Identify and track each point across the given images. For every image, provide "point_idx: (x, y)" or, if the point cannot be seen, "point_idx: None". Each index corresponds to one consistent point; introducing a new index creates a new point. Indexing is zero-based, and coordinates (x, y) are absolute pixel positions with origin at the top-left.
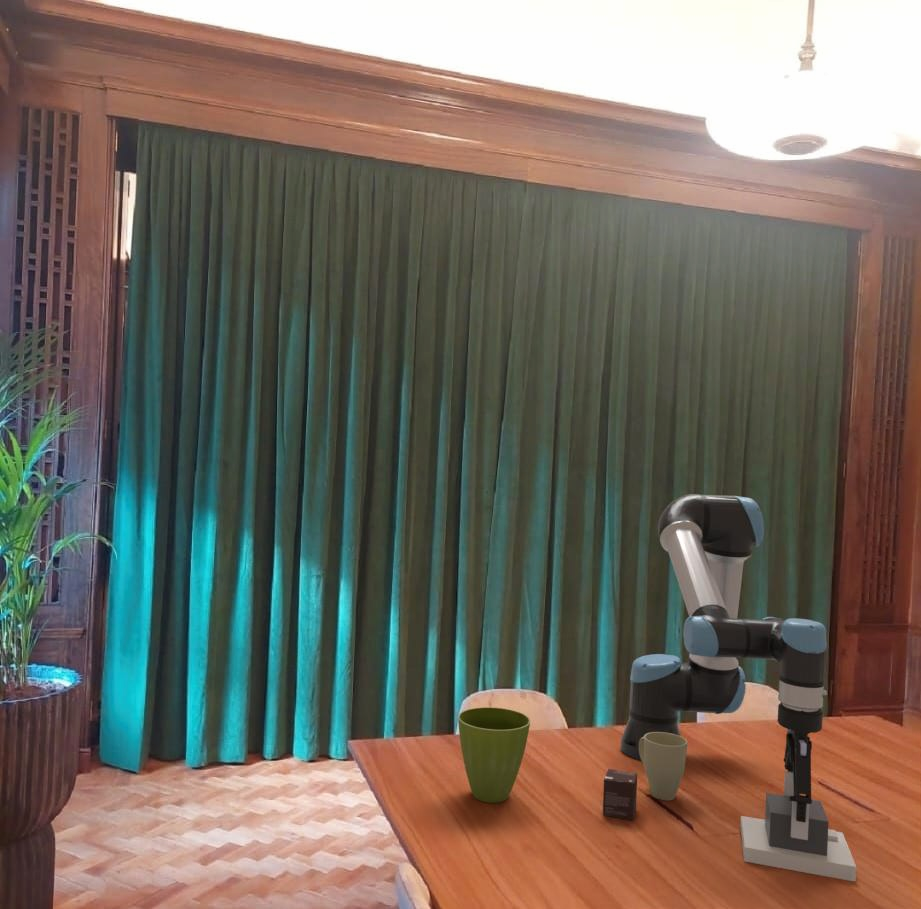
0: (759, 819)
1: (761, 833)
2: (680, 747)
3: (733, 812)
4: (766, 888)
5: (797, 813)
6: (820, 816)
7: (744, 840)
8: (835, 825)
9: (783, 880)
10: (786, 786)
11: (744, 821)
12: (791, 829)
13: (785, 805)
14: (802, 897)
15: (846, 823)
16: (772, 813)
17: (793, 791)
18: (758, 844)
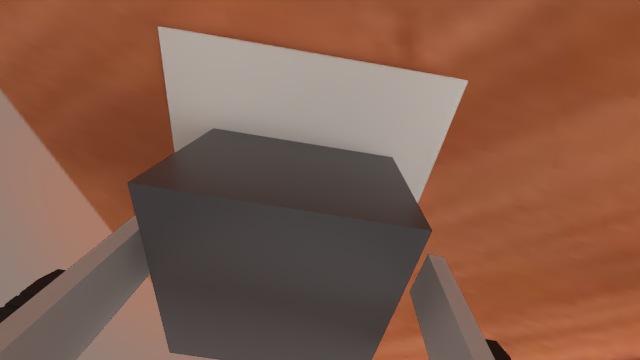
0: (433, 148)
1: (311, 126)
2: None
3: (594, 80)
4: (47, 66)
5: (8, 303)
6: (206, 345)
7: (222, 40)
8: (471, 311)
9: (128, 128)
10: (459, 341)
11: (411, 83)
12: (124, 225)
13: (268, 271)
14: (65, 151)
15: (480, 329)
16: (134, 189)
17: (437, 340)
18: (210, 92)
